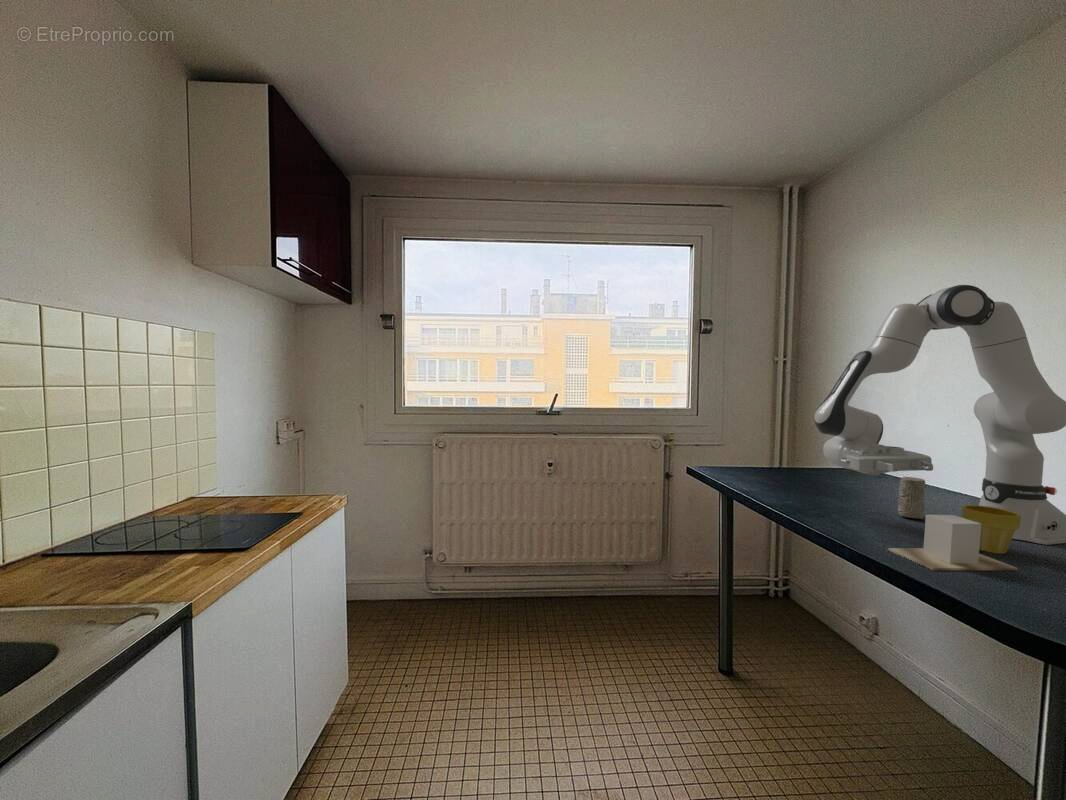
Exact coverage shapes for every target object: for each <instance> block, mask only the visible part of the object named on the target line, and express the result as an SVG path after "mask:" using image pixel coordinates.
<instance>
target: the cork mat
mask: <svg viewBox="0 0 1066 800" xmlns="http://www.w3.org/2000/svg"><path fill="white" fill-rule="evenodd" d="M923 548H924V547H919V548H916V547H911V548H909V547H908V548H906V547H901V548H900V547H899V548H898V547H894V548H893V547H891V548H890V547H888V548H887V551H888V550H889V552H890V553H893V554H896V555H898V556H899V555H900V556H899V557H902V558H904V557H905V559H906V558H907V559H906V560H908V559H909V560H908V561H910V560H912V561H911V562H913V561H914V562H913V563H915V562H916V563H915V564H917V563H918V564H917V565H919V564H920V566H921V565H923V566H925V567H924V568H926V567H927V568H926V569H928V568H929V570H930V569H931V570H930V571H1018V570H1019V568H1018V567H1016V566H1013V565H1011V564H1009V563H1006V562H1003V561H1000V560H997V559H995V558H994V557H993V558H992V557H990V556H987V555H985V554H981V553H979V559H978V563H948V562H945V561H943V560H940V559H938V558H936V557H933V556H931V555H929V554H926V553H924V552H923ZM923 566H922V567H923Z"/></svg>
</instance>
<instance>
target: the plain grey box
mask: <svg viewBox="0 0 1066 800" xmlns="http://www.w3.org/2000/svg"><path fill="white" fill-rule="evenodd" d="M924 522H925V523H924V536H923V547H922V548H923V552H924V553H926V554H929V555H931V556H933V557H936V558H938V559H940V560H943V561H945V562H948V563H978V559H979V554H980V550H979V547H980V534H981V524H980V523H977V522H974V521H971V520H968V519H964V518H962V516H957V515H954V514H925V521H924Z"/></svg>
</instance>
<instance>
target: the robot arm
mask: <svg viewBox="0 0 1066 800" xmlns="http://www.w3.org/2000/svg"><path fill="white" fill-rule="evenodd" d="M958 327H959V328H961V329H962V330H964V331H965V333H966V334H967V337H969V343H970V346H971V350H972V354H973V357H974V358H973V359H974V361H975V364H976V367H977V371H978V375H980V377H981V378H982V379H983V380H984V381H985V382H987V384H988V385H989V386H990V388H991V389H992V391H993V392H989V393H985V394H983V395H982V396H980V397H978V398H977V400H976V401H975V402H974V406H973V413H974V416H975V417H976V419H977V420H978V421H979V423H980V427H981V429H982V433H983V437H984V442H985V450H986V451H985V452H986V458H985V459H986V460H985V476H984V478H982V483H981V491H982V493H983V494H982V495H981V496H980V500H979V503H978V505H980V506H988V507H995V508H1000V509H1005V510H1009V511H1012V512H1016V513H1018V514H1020V516H1021V519H1020V526H1019V529H1017V530H1015V532H1014V534H1013V537H1012V539H1013V540H1019V541H1026V542H1031V543H1035V544H1039V545H1057V544H1059V545H1060V544H1066V514H1065V513H1064V512H1063V511H1062V510H1061V509H1059V508H1058V507H1057V506H1055V505H1054V504H1053V503H1051V502H1050V501H1049V500H1048V496H1047V494H1048V495H1049V496H1050V495H1051V496H1055V495H1056V494H1057V492H1058V490H1057V488H1056V487H1054V486H1053V487H1052V486H1051V487H1050V486H1047V485H1045V486H1044V485H1043V476H1044V475H1043V474H1044V473H1043V472H1044V461H1045V458H1044V455H1043V452H1042V451H1041V450H1040V449H1039V448H1038V446H1037V443H1036V441H1035V437H1034V435H1039V434H1040V435H1041V434H1049V433H1055V432H1058V431H1060V430H1062V429H1064V428H1065V427H1066V400H1064V399H1063V398H1062V397H1060V396H1059V395H1058V394H1057V393H1055V391H1054V390H1053V389H1052V388H1051V387H1050V385H1049V384H1048V381H1046V380H1045V378H1044V377H1043V375H1042V374H1041V371H1040V370H1039V368H1038V367H1037V364H1036V361H1035V360H1034V359H1035V358H1034V357H1033V353H1032V350H1031V347H1030V343H1029V339H1028V337H1027V333H1026V331H1025V328H1024V325H1023V322H1022V321H1021V319H1020V317H1019V314H1018V312H1017V310H1015V308H1014V307H1013V306H1012V305H1011V304H1010V303H1007V302H1005V301H994V300H993V299H992V298H991V297H989V296H988V295H987V293H986V292H985V291H984V290H982V289H981V288H980V287H977V286H974V285H971V284H958V285H953V286H950V287H946V288H942V289H939V290H937V291H936V292H934V293H931V294H930V295H928V296H926V297H924V298H922V299H921V300H920V301H919V302H917V303H901V304H897V305H896V306H894V307H893V308H892V309H891V310H890V311H889V313H888V314H887V315H886V316H885V318H884V319H883V321H882V324H881V325H880V326H879V328H878V330H877V331H876V334H875V337H874V339H873V341H872V342H871V343H870V345H869V346H868V347H866V349H865V350H864V351H859V352H858V353H856V354H855V355H854V356H853V358H852V359H851V360H850V361H849V363H848V364H847V365H846V367H845V369H844V371H842V373H841V375H840V376H839V378H838V379H837V381H836V382H835V384H834V386H833V388H832V389H831V391H829V394H828V395H827V396H826V398H825V399H824V400H823V401H822V402H821V403H820V404H819V406H818V407H817V408H816V410H815V412H814V414H813V421H814V424H815V426H816V428H817V430H818V431H819V432H820V434H824V435H828V436H833V437H832V438H830V439H828V440H826V441H825V443H824V444H823V446H822V452H823V455H824V457H825V459H826V460H827V461H828V462H830V463H831V464H832V465H835V466H837V467H840V468H842V469H847V470H853V471H855V472H859V473H863V474H866V475H870V476H878V475H881V474H886V473H891V472H907V471H909V472H910V471H914V472H915V471H916V472H917V471H927V472H932V471H934V464H933V463H932V461H933V460H932V458H931V456H929V455H926V454H924V453H923V454H922V453H919V452H915V451H912V450H905V448H904V447H899V446H889V445H884V444H880V442H881V439H882V437H883V435H884V434H883V433H884V424H883V421H882V418H881V416H879V415H878V414H876V413H873V412H870V411H867V410H866V409H865V410H864V409H860V408H857V407H855V406H850V405H849V402H850V400H851V399H852V398H853V396H854V394H855V393H856V391H857V390H858V389H859V386H860V385H861V384H862V383H863V381H864V380H865V379H866V378H867V377H870V376H872V375H876V374H890V373H891V374H892V373H896V372H900V371H902V370H904V369H906V368H908V367H909V366H911V365H912V363H914V361H915V359H916V358H917V355H918V353H919V351H920V349H921V346H922V344H923V342H924V340H925V338H926V336H927V334H928V333H929V332H931V330H933V331H934V330H935V331H936V330H945V329H946V330H947V329H949V330H950V329H954V328H958ZM1012 539H1011V540H1012Z"/></svg>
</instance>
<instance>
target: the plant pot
mask: <svg viewBox="0 0 1066 800" xmlns="http://www.w3.org/2000/svg"><path fill="white" fill-rule="evenodd" d="M961 518H964V519H968V520H971V521H974V522H977V523H980V524H981V534H980V547H979V551H982V552H985V551H986V552H985V553H990V552H991V554H997V555H998V554H999V555H1000V554H1002V555H1003V554H1006V553H1007V552H1008V549H1009V547H1010V544H1011V542H1012V537H1013V534H1014V532H1015V530H1017V529H1019V526H1020V519H1021V516H1020V514H1018V513H1016V512H1012V511H1009V510H1005V509H1000V508H995V507H988V506H980V505H979V504H965V505H963V506H962V511H961Z"/></svg>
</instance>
